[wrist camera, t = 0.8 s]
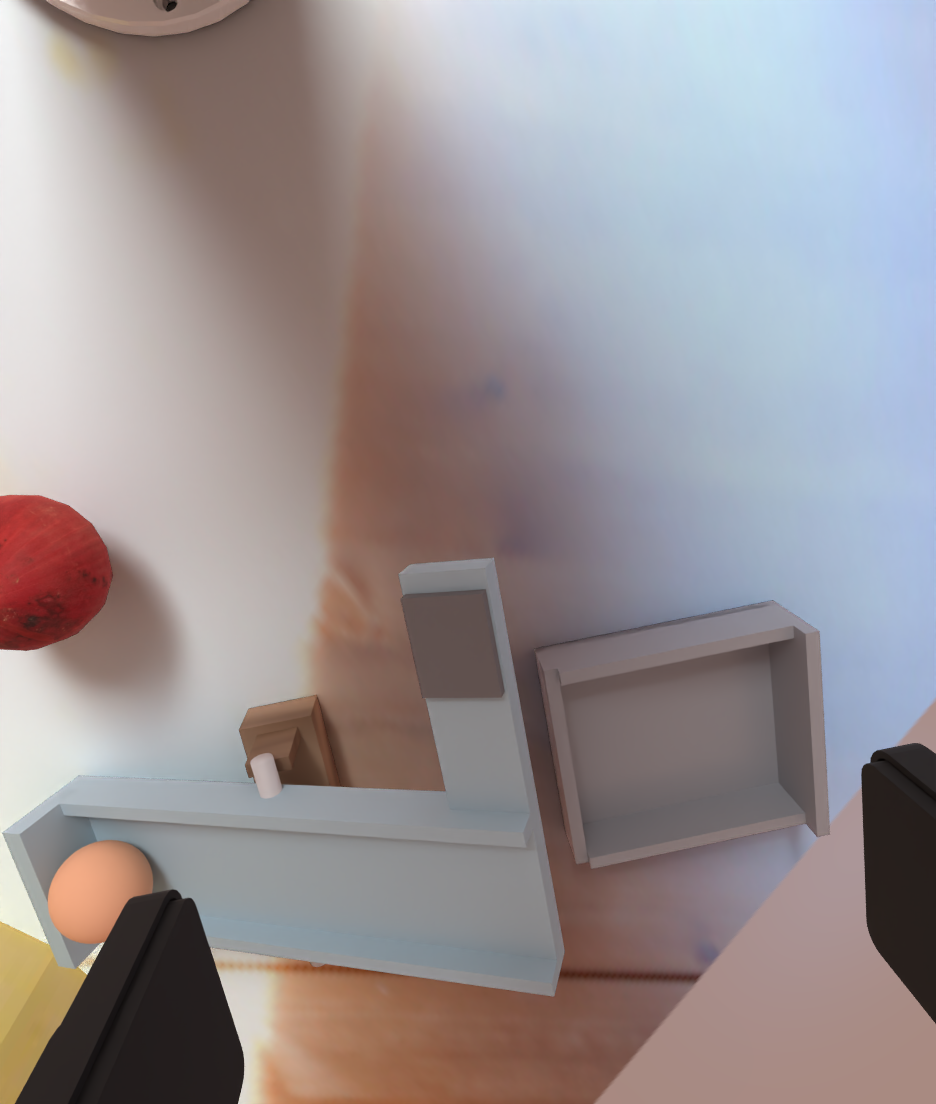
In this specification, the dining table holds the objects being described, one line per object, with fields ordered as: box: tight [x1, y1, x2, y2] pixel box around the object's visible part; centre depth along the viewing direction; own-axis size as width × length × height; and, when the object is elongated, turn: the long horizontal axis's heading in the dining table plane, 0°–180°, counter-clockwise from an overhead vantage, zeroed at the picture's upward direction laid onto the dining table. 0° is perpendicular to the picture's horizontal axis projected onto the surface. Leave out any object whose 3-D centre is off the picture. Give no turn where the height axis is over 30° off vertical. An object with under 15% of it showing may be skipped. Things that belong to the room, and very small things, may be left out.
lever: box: [2, 558, 565, 997], centre depth 28 cm, size 18×22×4 cm
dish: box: [534, 600, 830, 869], centre depth 34 cm, size 10×12×4 cm
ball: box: [48, 840, 153, 944], centre depth 31 cm, size 4×4×4 cm
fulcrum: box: [239, 695, 341, 787], centre depth 33 cm, size 10×3×4 cm, turn 10°
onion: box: [0, 495, 113, 651], centre depth 27 cm, size 6×6×8 cm
